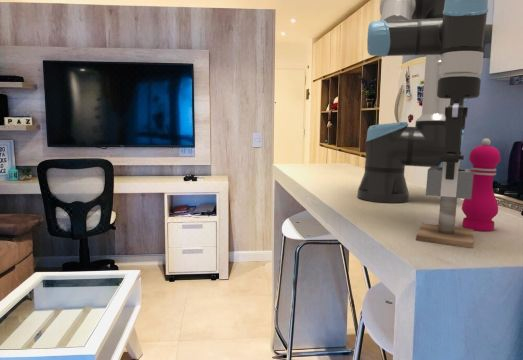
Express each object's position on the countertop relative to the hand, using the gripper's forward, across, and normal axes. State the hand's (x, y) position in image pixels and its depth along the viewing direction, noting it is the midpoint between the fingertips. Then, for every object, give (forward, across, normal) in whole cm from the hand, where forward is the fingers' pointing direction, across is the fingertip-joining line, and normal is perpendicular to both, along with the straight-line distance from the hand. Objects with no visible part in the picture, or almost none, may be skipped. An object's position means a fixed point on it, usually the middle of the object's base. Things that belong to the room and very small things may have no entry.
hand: (449, 193), depth 84 cm
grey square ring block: (0, 0, 0) cm, 0 cm away
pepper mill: (+9, -13, +6) cm, 17 cm away
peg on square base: (+9, 0, 0) cm, 9 cm away
